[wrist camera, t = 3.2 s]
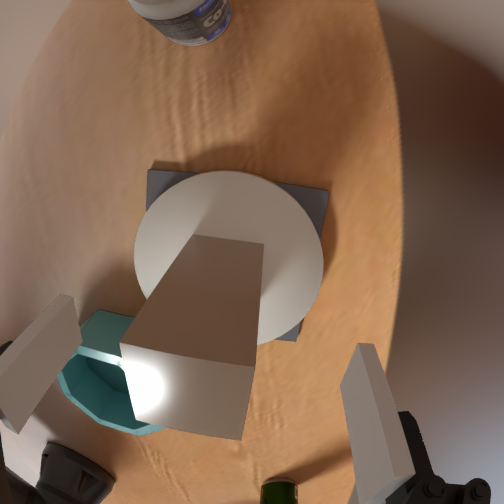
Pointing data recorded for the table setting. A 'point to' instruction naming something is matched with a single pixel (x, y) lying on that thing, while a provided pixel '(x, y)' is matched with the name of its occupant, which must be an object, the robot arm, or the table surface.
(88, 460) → the robot arm
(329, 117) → the table surface
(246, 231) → the lid
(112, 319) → the bowl
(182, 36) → the pill bottle
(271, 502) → the beer can
